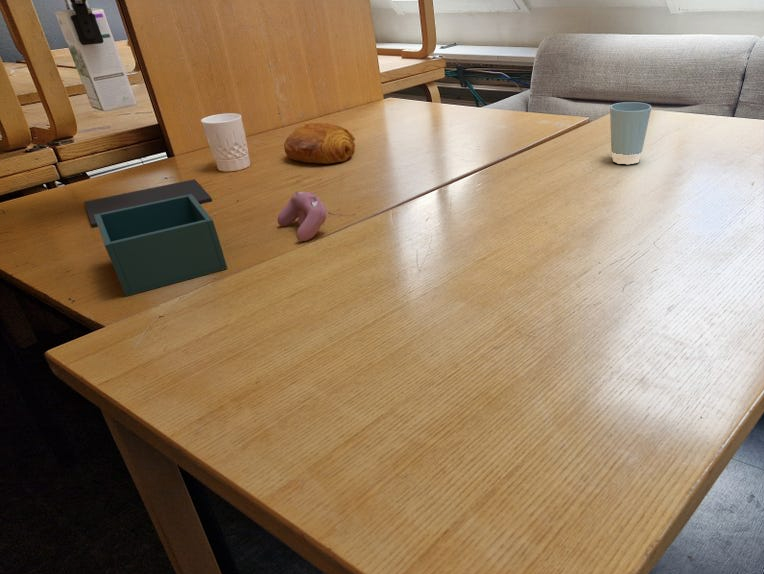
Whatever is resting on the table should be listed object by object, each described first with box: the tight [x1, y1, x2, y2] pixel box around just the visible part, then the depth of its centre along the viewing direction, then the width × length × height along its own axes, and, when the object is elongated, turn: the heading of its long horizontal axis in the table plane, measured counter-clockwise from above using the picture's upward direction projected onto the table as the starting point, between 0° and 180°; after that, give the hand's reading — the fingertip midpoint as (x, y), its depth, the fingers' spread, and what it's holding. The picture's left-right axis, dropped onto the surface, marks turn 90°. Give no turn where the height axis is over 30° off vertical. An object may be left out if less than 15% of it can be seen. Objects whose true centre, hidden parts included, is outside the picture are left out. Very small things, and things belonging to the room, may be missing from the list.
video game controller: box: [277, 190, 328, 243], centre depth 99 cm, size 10×5×7 cm, turn 35°
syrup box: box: [54, 7, 138, 112], centre depth 100 cm, size 6×6×14 cm
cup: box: [609, 101, 652, 155], centre depth 120 cm, size 8×8×10 cm
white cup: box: [200, 113, 252, 173], centre depth 128 cm, size 8×8×10 cm
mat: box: [83, 178, 213, 228], centre depth 114 cm, size 20×14×1 cm
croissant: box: [283, 122, 356, 165], centre depth 133 cm, size 14×16×8 cm
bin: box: [94, 194, 228, 297], centre depth 89 cm, size 14×14×8 cm
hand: (90, 40), depth 98 cm, fingers closed on syrup box, 6 cm apart
